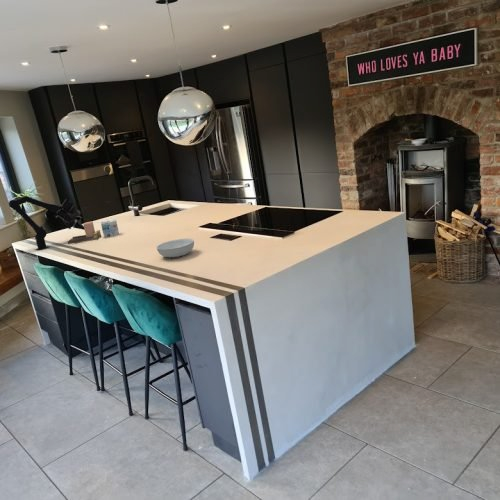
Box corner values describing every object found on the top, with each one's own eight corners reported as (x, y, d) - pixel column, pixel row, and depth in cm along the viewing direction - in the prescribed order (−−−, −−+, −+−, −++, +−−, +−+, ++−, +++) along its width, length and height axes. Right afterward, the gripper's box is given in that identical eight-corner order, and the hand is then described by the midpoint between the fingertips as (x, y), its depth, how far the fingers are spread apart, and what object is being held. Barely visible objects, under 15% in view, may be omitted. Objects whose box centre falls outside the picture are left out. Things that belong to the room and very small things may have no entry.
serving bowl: (197, 247, 274) (195, 236, 273) (194, 258, 254) (192, 245, 252) (161, 252, 275) (159, 241, 273) (155, 263, 254) (153, 251, 253)
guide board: (97, 239, 335) (95, 233, 334) (67, 244, 335) (66, 237, 334) (101, 235, 346) (99, 229, 345) (72, 240, 345) (71, 234, 344)
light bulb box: (104, 238, 336) (100, 223, 333) (104, 236, 343) (100, 221, 340) (119, 235, 339) (116, 220, 336) (119, 233, 345) (116, 219, 342)
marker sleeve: (93, 236, 337) (90, 223, 334) (86, 237, 337) (83, 224, 334) (95, 234, 343) (92, 221, 340) (88, 235, 343) (85, 222, 340)
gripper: (67, 209, 325) (87, 222, 328) (75, 204, 343) (94, 217, 346) (59, 222, 327) (78, 235, 330) (67, 217, 345) (86, 229, 348)
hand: (84, 229), depth 338 cm, fingers closed
